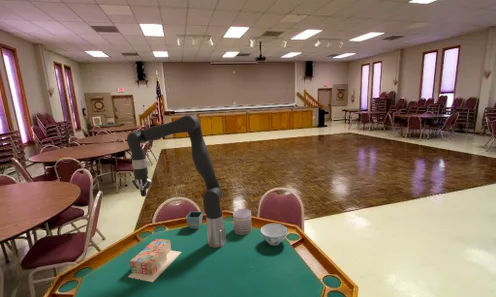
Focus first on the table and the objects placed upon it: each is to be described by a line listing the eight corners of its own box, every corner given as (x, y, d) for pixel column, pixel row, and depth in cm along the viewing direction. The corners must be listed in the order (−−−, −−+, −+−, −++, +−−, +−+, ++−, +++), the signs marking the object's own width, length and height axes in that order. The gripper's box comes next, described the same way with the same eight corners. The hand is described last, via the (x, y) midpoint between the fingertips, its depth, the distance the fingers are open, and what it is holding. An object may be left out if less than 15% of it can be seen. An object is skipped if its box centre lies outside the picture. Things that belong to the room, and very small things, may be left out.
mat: (181, 252, 140) (181, 252, 140) (152, 282, 117) (152, 281, 117) (159, 249, 144) (159, 248, 144) (128, 277, 122) (128, 276, 121)
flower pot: (191, 224, 173) (190, 211, 171) (203, 224, 172) (202, 211, 170) (186, 230, 164) (185, 217, 162) (200, 230, 163) (199, 217, 162)
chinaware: (285, 234, 153) (284, 222, 152) (289, 248, 138) (289, 235, 137) (260, 236, 153) (259, 224, 151) (262, 250, 138) (261, 237, 137)
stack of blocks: (155, 238, 143) (175, 240, 140) (156, 248, 144) (176, 250, 141) (129, 261, 123) (152, 263, 120) (131, 272, 124) (153, 275, 121)
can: (255, 229, 161) (254, 211, 159) (243, 236, 153) (242, 218, 151) (242, 224, 169) (241, 207, 167) (230, 231, 160) (229, 213, 158)
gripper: (154, 165, 145) (157, 194, 148) (135, 164, 149) (138, 193, 152) (145, 169, 138) (148, 199, 141) (125, 168, 142) (129, 197, 145)
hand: (143, 196), depth 147 cm, fingers closed
